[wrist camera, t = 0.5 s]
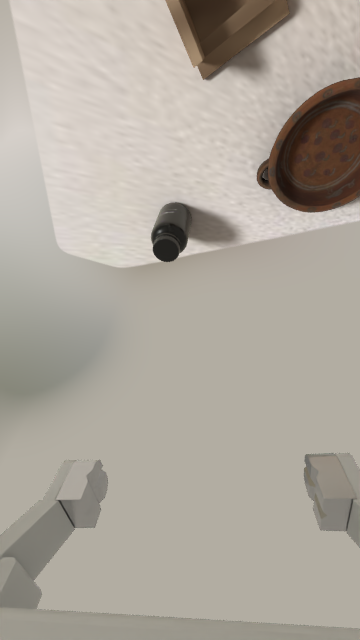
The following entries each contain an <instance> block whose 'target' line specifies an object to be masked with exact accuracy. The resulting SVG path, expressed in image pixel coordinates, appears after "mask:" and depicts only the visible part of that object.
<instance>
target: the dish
mask: <svg viewBox="0 0 360 640" xmlns="http://www.w3.org/2000/svg"><path fill="white" fill-rule="evenodd" d="M266 169H268V180H269V181H268V180H265V179H264V178H263V173H264V171H265V170H266ZM257 181H258V183H259V185H260V186H262V187H263V188H265V189H272V191H273V192H274V193H275V195H276V197H277V198H278V199H279V200H280V201H281V202H283V203H284V204H285V205H287V206H288V207H291V208H293V209H295V210H299V211H302V212H323V211H327V210H331V209H334V208H337V207H340V206H342V205H345V204H347V203H349V202H351V201H353V200H354V199H356V198H357V197H359V196H360V78H354V79H348V80H343V81H340V82H337V83H334V84H332V85H330V86H328V87H326V88H324V89H322V90H320V91H318V92H317V93H316V94H314V95H313V96H312V97H310V98H309V99H308V100H306V101H305V102H304V103H303V104H302V105H301V106H300V107H299V108H298V109H297V110H296V111H295V112H294V113H293V114H292V116H291V117H290V118H289V119H288V121H287V122H286V123H285V125H284V126H283V128H282V129H281V131H280V133H279V135H278V137H277V139H276V141H275V143H274V146H273V148H272V151H271V154H270V157H269V159H267V160H266V161H264V162H263V163H262V164H261V166H260V167H259V169H258V172H257Z"/></svg>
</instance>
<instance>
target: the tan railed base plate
mask: <svg viewBox="0 0 360 640" xmlns="http://www.w3.org/2000/svg"><path fill="white" fill-rule="evenodd" d="M166 3H167V5H168V8H169V10H170V12H171V15H172V17H173V19H174V22H175V24H176V27H177V29H178V31H179V34H180V36H181V39H182V41H183V43H184V46H185V48H186V51H187V53H188V55H189V58H190V60H191V63H192V65H193V67H195V66H198V68H199V71H200V73H201V76H202V78H203V80H204V79H205V78H206V77H207V76H209V75H210V74H211V73H213V72H214V71H215V70H217V69H218V68H219V67H221V66H222V65H223V64H224V63H226V62H227V61H228V60H230V59H231V58H232V57H234V56H235V55H236V54H238V53H239V52H240V51H241V50H243V49H244V48H245V47H247V46H248V45H249V44H251V43H252V42H253V41H254V40H256V39H257V38H258V37H260V36H261V35H262V34H264V33H265V32H266V31H268V30H269V29H270V28H271V27H273V26H274V25H275V24H277V23H278V22H279V21H281V20H282V19H283V18H284V17H286V16H287V15H288V14H290V13H289V9H288V4H287V0H166Z"/></svg>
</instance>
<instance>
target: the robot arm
mask: <svg viewBox="0 0 360 640" xmlns="http://www.w3.org/2000/svg"><path fill="white" fill-rule="evenodd" d="M305 463H306V467H305V468H304V480H305V485H306V489H307V492H308V495H309V497H310V498H311V499H312V500H313V501H314V506H313V510H314V513H315V516H316V519H317V522H318V525H319V528H320V530H326V531H347V534H348V535H349V536H350V537H351V538H352V539H353V541H354V542H356V544H357V545H358V546H359V547H360V469H359V467H358V466H357V464H356V462H355V460H354V458H353V456H352V455H351V454H350V453H339V454H334V453H325V454H306V455H305ZM102 466H103V465H102V463H101V461H100V460H67V461H64V462H63V463H62V464H61V466H60V468H59V470H58V472H57V473H56V475H55V477H54V479H53V481H52V483H51V485H50V487H49V489H48V491H47V493H46V495H45V496H44V498H43V500H40V501H38V502H37V503H36V504H35V505H34V506H32V507H31V508H30V509H29V510H28V511H27V512H26V513H25V514H23V516H21V517H20V518H19V519H18V520H17V521H16V522H15V523H14V524H12V525H11V526H10V527H9V528H8V529H7V530H6V531H4V532H3V533H2V534H1V535H0V640H360V629H358V628H341V627H324V626H308V625H290V624H274V623H258V622H257V623H256V622H241V621H225V620H209V619H208V620H207V619H191V618H175V617H159V616H141V615H126V614H108V613H92V612H76V611H59V610H42V609H37V606H38V603H39V601H40V598H41V595H42V592H41V589H40V588H39V587H38V586H37V584H36V583H35V582H34V580H35V578H36V577H37V576H38V575H39V573H40V572H41V571H42V570H43V568H44V567H45V566H46V564H47V563H48V562H49V561H50V559H51V558H52V557H53V556H54V555H55V553H56V552H57V551H58V550H59V548H60V547H61V546H62V545H63V543H64V542H65V541H66V540H67V538H68V537H69V536H70V535H71V534H72V532H73V531H74V530H75V529H74V528H95V526H96V523H97V520H98V517H99V514H100V510H101V508H100V504H99V503H100V502H101V501H102V500H103V499H104V498H105V495H106V491H107V486H108V478H107V475H106V472H104V471H103V470H102Z"/></svg>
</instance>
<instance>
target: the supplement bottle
mask: <svg viewBox="0 0 360 640" xmlns="http://www.w3.org/2000/svg"><path fill="white" fill-rule="evenodd" d="M190 227H191V214H190V212H189V210H188V209H187V208H186V207H185V206H183V205H182V204H179V203H169V204H167V205H165V206H164V207H163V208H162V209H161V210H160V212H159V215H158V217H157V220H156V223H155V225H154V228H153V230H152V234H151V241H152V244H153V253H154V255H155V256H156V257H157V258H158V259H159V260H161V261H164V262H170V261H174V260H175V259H176V258H177V257H178V255H179V253H181V252H182V251H183V250H184V249H185V247H186V245H187V242H188V237H189V232H190Z"/></svg>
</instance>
